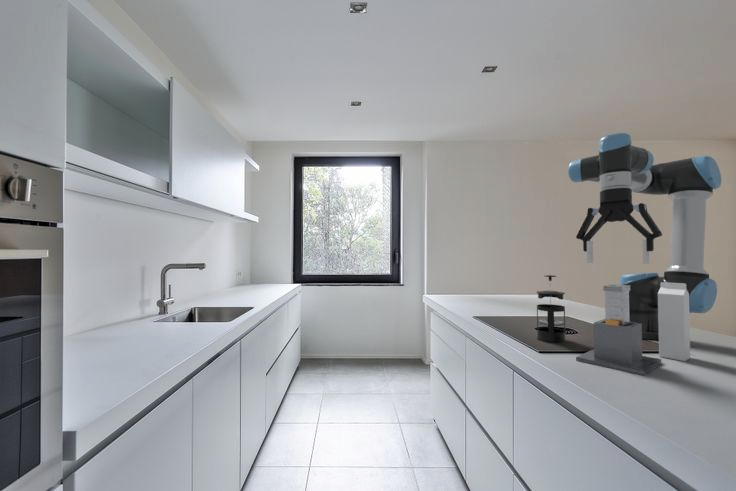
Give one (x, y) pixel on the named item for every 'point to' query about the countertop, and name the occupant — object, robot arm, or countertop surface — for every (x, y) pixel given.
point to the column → (617, 303)
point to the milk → (674, 321)
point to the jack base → (619, 348)
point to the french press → (550, 317)
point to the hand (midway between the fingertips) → (616, 263)
